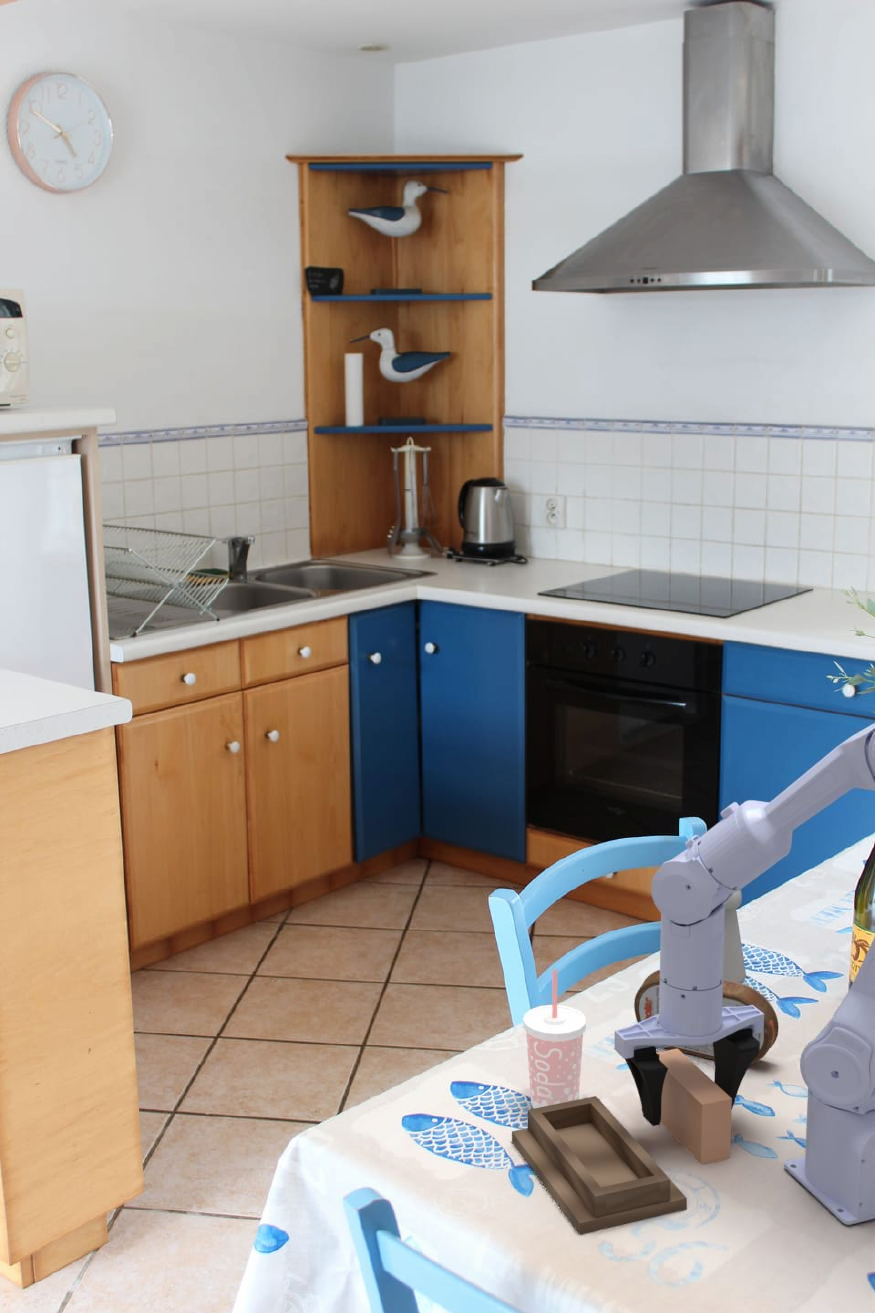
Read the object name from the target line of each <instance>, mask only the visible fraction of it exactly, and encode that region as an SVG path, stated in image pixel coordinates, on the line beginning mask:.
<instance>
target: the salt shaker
mask: <svg viewBox="0 0 875 1313" xmlns="http://www.w3.org/2000/svg"><path fill="white" fill-rule="evenodd" d="M742 898H743V896H742V890H739V891H738V892H735V893H734V894H733V895H732V896H731V898H730V899H729V900H727V902H726V903H725V905H724V906H725V918H724V965H723V980H726V981H731V982H736V983H740V984H744V982H745V980H746V977H747V972H746V966H745V958H744V952H743V946H742V939H741V932H740V931H741V930H740V926H739V919H738V918H739V917H738V912H737V909H738V908H740V906H741V904H742Z"/></svg>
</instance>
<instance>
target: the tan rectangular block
mask: <svg viewBox="0 0 875 1313" xmlns="http://www.w3.org/2000/svg"><path fill="white" fill-rule="evenodd" d="M656 1053H657V1054H659V1060H660V1061H661V1062H662V1063H663V1064H664V1065H665V1066H666V1067H667V1068H668V1070H667V1073H666V1076H665V1080H664V1084H663V1090H662V1100H661V1121H660V1124H662V1126H664V1128H665V1129H666V1130H667V1132H670V1134H671V1135H672V1136H673V1137H674V1138H675V1139H676V1140H677V1141H678V1142H679V1143H680V1145H682V1147H684V1149H685V1150H686V1151H687V1152H689V1154H690V1155H691V1156H692V1157H693V1159H695V1160H696V1161H697V1162H698V1163H699V1164H700V1165H705V1164H706V1165H707V1164H710V1163H714V1162H718V1161H722V1160H723V1161H724V1160H728V1159H730V1158H731V1142H732V1141H731V1138H732V1112H733V1111H732V1110H733V1108H732V1098H731V1097H730V1096H728V1095H727V1094H726V1093H725V1092H724V1091H723V1090H722V1089H721V1088H720V1087H719V1086H718V1085H717V1084H715V1083H714V1080H712V1079H711V1078H710V1077H709V1076H708V1075H707V1074H706V1073H705V1072H704V1071H703V1070H702V1069H701V1068H699V1066H697V1065H696V1064H695V1063H694V1062H693V1061H692V1060H691V1059H689V1057H687V1056H686V1054H684V1052H681V1051H680V1050H679V1049H678V1048H677V1049H672V1050H671V1049H668V1050H663V1051H658V1052H657V1051H656Z"/></svg>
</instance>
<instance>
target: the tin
mask: <svg viewBox="0 0 875 1313" xmlns="http://www.w3.org/2000/svg"><path fill="white" fill-rule="evenodd" d="M659 997H660V969H659V970H656V971H653V972H652V973H651V974H649V975H647V977H646V978H645V979H644V981H643V982H642V984H641V986H640V987H639V989H638V990H637V992H636V993H635V997H634V1004H633V1005H634V1007H633V1008H634V1014H635V1018H636V1021H637V1022H636V1023H639V1022H641V1021H643V1020H646V1019H648V1018H650V1017H652V1016H655V1015H657V1014H659ZM750 1005H753V1006H755V1007H756V1008H757V1009H758V1010H760V1011H761V1012H762V1013H764V1030H763V1033H758V1034H753V1037H754V1038H756V1039H757V1040H758V1041H759V1042H760V1051H759V1054H758V1055H757V1056H756V1057H755V1059H754V1060H753V1061H752V1063H751V1064H750V1065H753V1064H755V1063H757V1062H759V1061H760V1060H762V1059H763V1058H764V1057H765V1056H766V1055H767V1053H768V1052H769V1051H770V1049H771V1048H772V1047H773V1045H775V1043H776V1041H777V1039H778V1034H779V1026H780V1025H779V1021H778V1017H777V1014H776V1011H775V1009H774V1007H773V1006H772V1004H771V1003H770V1001H769V1000H768V999H767V998H766V997H765V996H764V995H763V994H762V993H761V992H759V991H758V990H756V988H755V989H754V988H753V987H751V986H749V985H747V984H744V983H743V984H740V983H736V982H731V981H726V980H723V1001H722V1007H742V1006H750ZM664 1048H665V1049H668V1050H672V1049H677V1048H678V1049H679V1050H680V1051H681V1052H682V1053H683V1054H684V1053H685V1054H689V1055H693V1056H696V1057H700V1058H703V1059H704V1058H705V1059H707V1060H708V1059H709V1060H712V1061H714V1050H713V1043H710V1044H705V1045H675V1046H670V1047H664Z"/></svg>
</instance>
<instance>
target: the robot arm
mask: <svg viewBox="0 0 875 1313" xmlns="http://www.w3.org/2000/svg"><path fill="white" fill-rule="evenodd" d="M853 789H863V790H865V791H866V790H867V791H872V792H873V791H874V792H875V722H874V723H872V724H870V725H869V726H867V727H865V728H864V729H862V730H860V731H857V733H855V734H853V735H851V736H850V737H849V738H847V739H846V740H844V741H843V742H841V743H840V744H839V745H837V746H836V747H835V748H833V749H832V750H831V751H830V752H829V753H828V754H826V755H825V756H824V757H823V758H822V759H820V760H819V761H818V762H816V764H814V765H813V766H812V767H811V768H809V769H808V770H807V771H806V772H805V773H803V774H802V775H801V776H800V777H799V778H797V779H796V780H795V781H793V782H792V784H791V785H789V786H788V787H786V788H785V789H784V790H783V791H782V792H781V793H779V794H778V795H777V796H776V797H775V798H773V799H772V800H770V801H769V802H768V801H761V800H753V799H749V800H745V801H744V802H742V803H741V804H740V805H739V804H738V802H736V801H733V803H731V804H729V805H728V806H727V807H726V808H724V809H723V810H722V811H721V812H720V816H721V817H722V818H723V819H721V820H720V821H719V822H717V823H716V824H715V825H714V826H712V827H711V828H710V829H708V831H706V832H705V833H704V834H702V835H701V836H699V835H698V834H695V835H693V836H691V837H690V838H689V839H688V840H686V841H685V843H684V845H685V847H686V849H685V850H682V852H681V853H679V854H677V855H676V856H674V858H672V859H669V860H667V861H664V862H663V863H662V864H661V866H660V868H659V869H658V870H657V871H656V872H655V873H654V875H653V878H652V881H651V884H650V891H651V892H650V894H651V897H652V901H653V903H654V905H655V907H656V908H657V910H658V912H660V945H659V946H660V947H659V948H660V949H659V950H660V951H659V953H660V954H659V955H660V956H659V970H660V997H659V1014H657V1015H655V1016H652V1017H650V1018H648V1019H646V1020H643V1021H641V1022H639V1023H638V1022H636V1023H635V1024H633V1025H629V1026H628V1027H624V1028H620V1029H615V1030H614V1048H613V1049H614V1051H616V1052H617V1054H618V1055H619V1056H621V1057H622V1059H623V1060H625V1063H626V1064H627V1066H628V1068H629V1070H630V1073H631V1075H632V1077H633V1080H634V1083H635V1087H636V1089H637V1093H638V1095H639V1100H640V1105H641V1111H642V1116H643V1118H645V1119H646V1121H647V1122H648V1123H649V1124H650V1125H651V1126H652V1127H655V1126H657V1127H658V1126H660V1124H661V1122H660V1121H661V1100H662V1090H663V1084H664V1080H665V1076H666V1073H667V1070H668V1068H667V1067H666V1066H665V1065H664V1064H663V1063H662V1062H661V1061H660V1060H659V1054H657V1050H658V1049H663V1048H665V1047H670V1046H675V1045H705V1044H710V1043H713V1050H714V1060H713V1061H714V1080H713V1082H714V1083H715V1084H717V1085H718V1086H719V1087H720V1088H721V1089H722V1090H723V1091H724V1092H725V1093H726V1094H727V1095H728V1096H730V1097H731V1098H732V1109H733V1107H734V1104H735V1103H736V1102H735V1101H736V1098H737V1095H738V1093H739V1090H740V1086H741V1084H742V1081H743V1079H744V1077H745V1075H746V1073H747V1071H748V1069H749V1067H750V1066H751V1065H752V1064H751V1063H752V1061H753V1060H754V1059H755V1057H756V1056H757V1055H758V1054H759V1051H760V1042H759V1041H758V1040H757V1039H756V1038H754V1037H753V1034H758V1033H763V1030H764V1013H762V1012H761V1011H760V1010H758V1009H757V1008H756V1007H755V1006H753V1005H750V1006H742V1007H722V1001H723V965H724V918H725V906H724V905H725V903H726V902H727V900H729V899H730V898H731V896H732V895H733V894H734V893H735V892H738V891H739V890H740V891H742V889H743V888H745V887H746V886H747V885H749V884H750V883H751V882H753V881H754V880H756V879H757V878H759V877H760V876H761V875H762V874H763V873H765V872H766V871H767V870H769V869H770V868H771V867H773V866H775V865H776V864H777V863H779V861H781V860H782V859H784V858H785V857H786V856H788V855H789V853H790V852H791V849H792V844H793V843H792V840H793V831H795V829H797V828H798V827H800V826H801V825H803V824H805V822H807V821H808V820H810V819H812V818H813V817H814V816H816V815H817V814H818V813H820V812H821V811H823V810H824V809H825V808H827V807H829V806H830V805H831V804H833V803H834V802H835V801H836V800H838V799H839V798H841V797H842V796H844V795H845V794H847V793H848V792H850V791H851V790H853ZM799 1060H800V1061H799V1066H800V1068H799V1069H800V1070H799V1071H800V1073H801V1078H802V1080H803V1082H804V1084H805V1086H806V1087H807V1100H806V1101H807V1104H806V1127H805V1150H804V1151H805V1154H804V1155H805V1156H801V1157H797V1158H792V1159H789V1160H785V1161H784V1163H783V1164H784V1166H783V1167H784V1168H785V1169H786V1171H787V1172H789V1173H790V1174H791V1175H792V1176H793V1177H794V1178H795V1179H796V1180H797V1181H798V1182H799V1183H801V1184H802V1185H803V1187H805V1188H806V1189H807V1191H809V1192H810V1193H811V1194H812V1195H813V1196H814V1197H815V1198H816V1199H817V1200H819V1201H820V1203H822V1205H824V1207H826V1208H827V1209H828V1210H829V1211H830V1212H831V1213H832V1214H833V1215H834V1216H835V1217H836V1218H837V1219H838V1220H840V1221H841V1223H843V1224H845V1225H849V1226H850V1225H854V1224H858V1223H859V1224H860V1223H862V1222H866V1221H870V1220H874V1219H875V937H874V938H873V940H872V942H871V944H870V946H869V948H868V950H867V952H866V955H865V957H864V958H863V961H862V962H861V965H860V967H859V969H858V972H857V974H856V975H855V978H854V980H853V982H852V984H851V986H850V988H849V990H848V992H847V993H846V995H845V996H844V998H843V999H842V1001H841V1003H840V1005H839V1006H838V1007H837V1009H836V1011H834V1014H833V1015H832V1017H831V1019H830V1020H829V1021H828V1022H827V1024H826V1025H825V1026H824V1027H823V1028H822V1029H821V1031H820V1032H819V1033H818V1034H817V1036H816V1037H815V1038H814V1039H812V1040H810V1041H809V1042H808V1043H807V1044H806V1046H805V1047H804V1048H803V1050H802V1052H801V1055H800V1058H799Z"/></svg>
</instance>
